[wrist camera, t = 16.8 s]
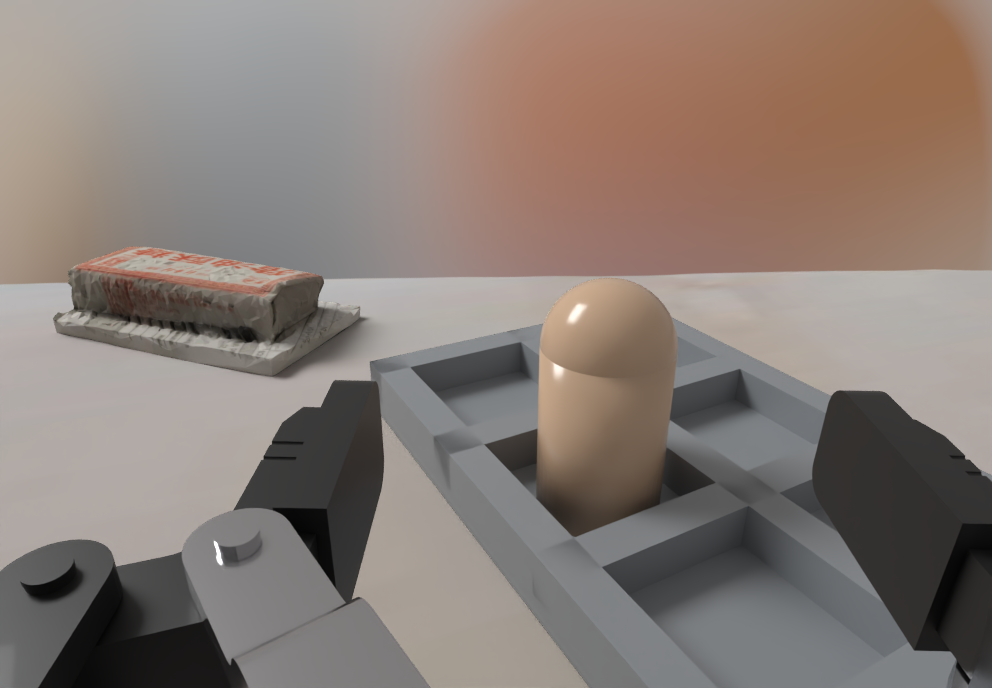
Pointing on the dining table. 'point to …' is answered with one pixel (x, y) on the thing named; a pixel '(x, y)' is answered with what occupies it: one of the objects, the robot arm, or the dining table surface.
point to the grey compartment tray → (663, 526)
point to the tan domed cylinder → (604, 403)
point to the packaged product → (202, 309)
